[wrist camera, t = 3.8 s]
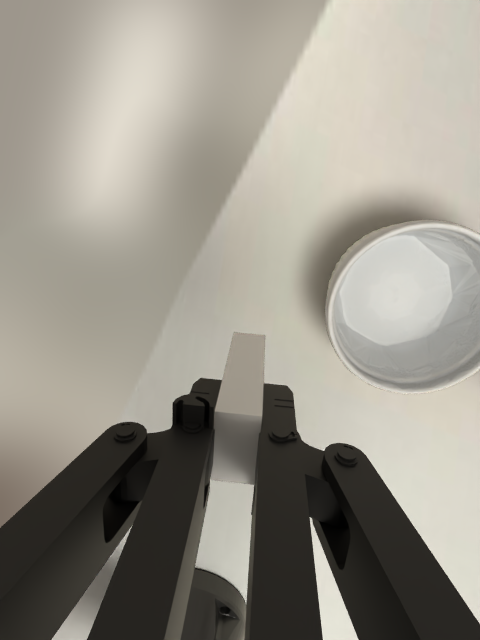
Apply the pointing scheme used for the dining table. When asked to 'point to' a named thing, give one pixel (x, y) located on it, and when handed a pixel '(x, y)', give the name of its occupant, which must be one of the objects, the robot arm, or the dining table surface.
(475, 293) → the ramekin
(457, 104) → the dining table surface
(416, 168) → the dining table surface
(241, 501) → the dining table surface
